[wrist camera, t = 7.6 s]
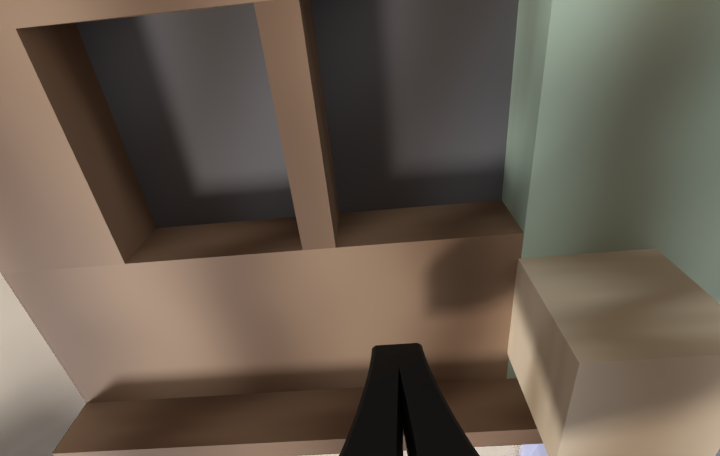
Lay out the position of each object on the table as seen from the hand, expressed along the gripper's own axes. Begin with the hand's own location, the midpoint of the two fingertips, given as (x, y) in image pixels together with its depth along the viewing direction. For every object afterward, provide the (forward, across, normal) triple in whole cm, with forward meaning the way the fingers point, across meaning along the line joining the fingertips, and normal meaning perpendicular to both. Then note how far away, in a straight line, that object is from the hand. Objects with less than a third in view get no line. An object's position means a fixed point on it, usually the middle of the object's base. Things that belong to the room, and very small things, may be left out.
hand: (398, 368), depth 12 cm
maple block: (+2, -6, 0) cm, 6 cm away
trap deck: (+4, +1, -4) cm, 6 cm away
